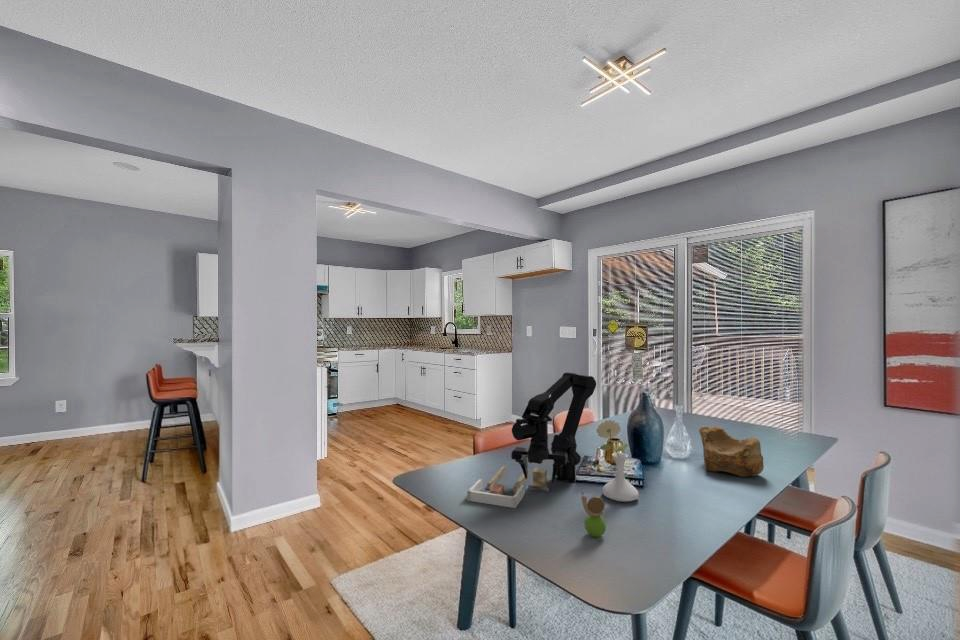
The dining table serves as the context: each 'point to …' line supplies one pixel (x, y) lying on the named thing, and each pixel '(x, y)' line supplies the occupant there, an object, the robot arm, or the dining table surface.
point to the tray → (494, 496)
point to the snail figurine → (594, 516)
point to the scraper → (539, 480)
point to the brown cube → (500, 487)
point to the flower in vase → (619, 485)
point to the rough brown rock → (730, 453)
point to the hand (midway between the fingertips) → (539, 480)
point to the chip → (496, 491)
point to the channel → (501, 473)
